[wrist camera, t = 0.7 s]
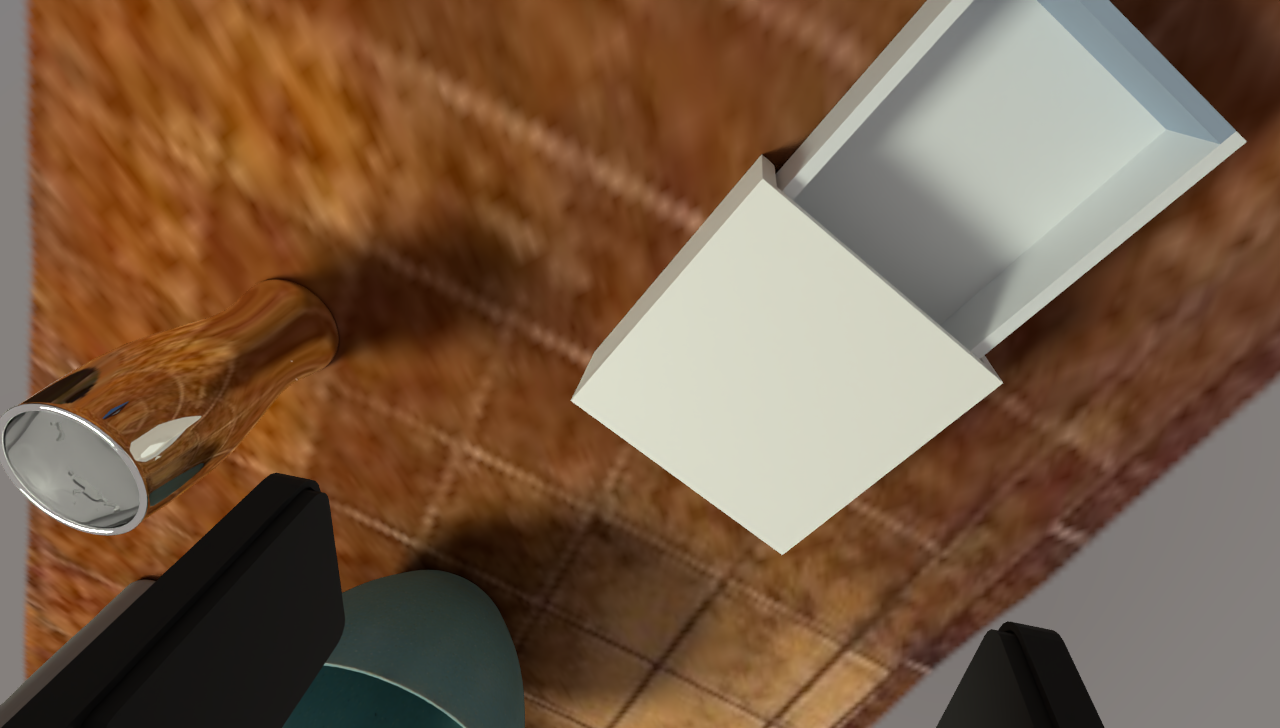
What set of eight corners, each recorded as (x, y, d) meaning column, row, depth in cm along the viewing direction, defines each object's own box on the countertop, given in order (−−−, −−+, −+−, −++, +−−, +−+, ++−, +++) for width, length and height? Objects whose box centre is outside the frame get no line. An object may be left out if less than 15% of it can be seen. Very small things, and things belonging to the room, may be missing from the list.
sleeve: (761, 154, 32) (762, 178, 27) (968, 331, 35) (1003, 382, 30) (594, 352, 38) (570, 400, 34) (779, 491, 41) (782, 554, 36)
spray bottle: (187, 587, 54) (-91, 866, 36) (189, 627, 56) (-71, 907, 38) (129, 568, 54) (-178, 837, 36) (133, 608, 56) (-153, 880, 38)
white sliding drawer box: (987, -70, 27) (1026, -85, 23) (1181, 125, 29) (1246, 141, 25) (629, 341, 38) (615, 378, 34) (788, 462, 40) (792, 511, 36)
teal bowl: (365, 685, 56) (271, 845, 45) (298, 509, 48) (164, 652, 37) (578, 703, 53) (533, 880, 42) (545, 518, 45) (478, 677, 34)
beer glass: (259, 376, 43) (38, 536, 30) (221, 272, 40) (-45, 398, 27) (359, 377, 42) (175, 544, 29) (328, 269, 39) (106, 400, 26)
